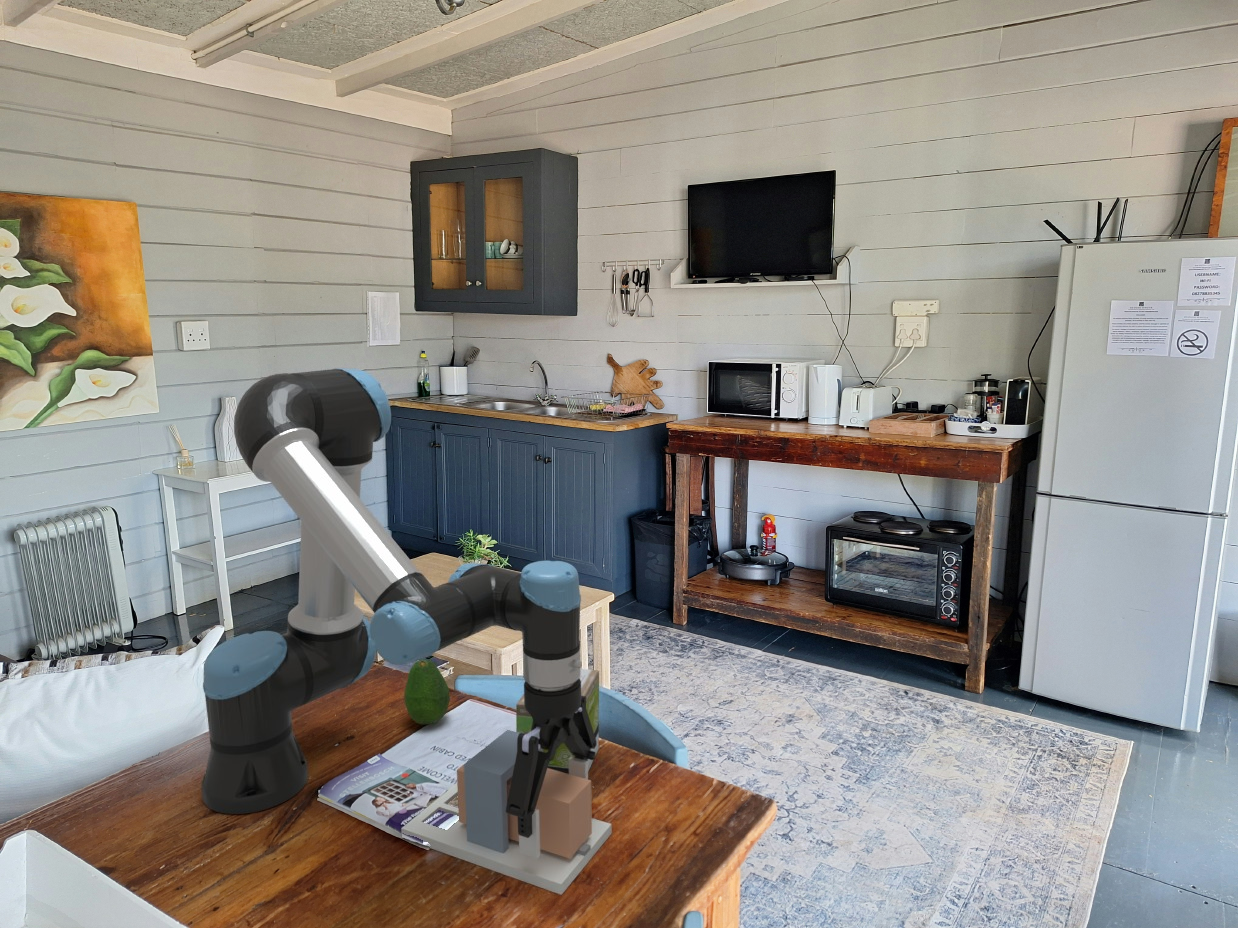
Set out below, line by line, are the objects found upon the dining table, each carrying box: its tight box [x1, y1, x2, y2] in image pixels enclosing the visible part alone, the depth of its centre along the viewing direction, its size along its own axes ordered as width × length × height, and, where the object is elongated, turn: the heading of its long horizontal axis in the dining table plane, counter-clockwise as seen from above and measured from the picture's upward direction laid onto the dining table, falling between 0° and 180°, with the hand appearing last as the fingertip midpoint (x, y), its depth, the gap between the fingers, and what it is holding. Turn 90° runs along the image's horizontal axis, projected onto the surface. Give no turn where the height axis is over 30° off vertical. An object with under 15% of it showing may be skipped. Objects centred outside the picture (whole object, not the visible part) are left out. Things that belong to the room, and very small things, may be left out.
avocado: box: [403, 659, 451, 726], centre depth 149 cm, size 8×8×12 cm
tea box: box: [515, 668, 600, 774], centre depth 134 cm, size 15×10×15 cm, turn 168°
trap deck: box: [400, 729, 612, 896], centre depth 117 cm, size 26×14×13 cm, turn 63°
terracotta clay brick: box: [456, 752, 593, 859], centre depth 116 cm, size 18×6×8 cm, turn 63°
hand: (555, 826), depth 114 cm, fingers open, 12 cm apart
